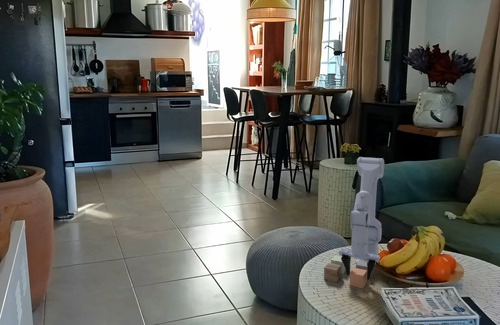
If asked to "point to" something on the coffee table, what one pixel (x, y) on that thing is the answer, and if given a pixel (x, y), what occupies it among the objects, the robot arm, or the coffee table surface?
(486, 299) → the coffee table surface
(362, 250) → the robot arm
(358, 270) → the terracotta block
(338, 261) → the sage block
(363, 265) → the slate block
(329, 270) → the walnut block
